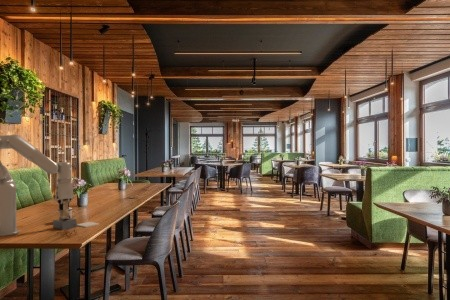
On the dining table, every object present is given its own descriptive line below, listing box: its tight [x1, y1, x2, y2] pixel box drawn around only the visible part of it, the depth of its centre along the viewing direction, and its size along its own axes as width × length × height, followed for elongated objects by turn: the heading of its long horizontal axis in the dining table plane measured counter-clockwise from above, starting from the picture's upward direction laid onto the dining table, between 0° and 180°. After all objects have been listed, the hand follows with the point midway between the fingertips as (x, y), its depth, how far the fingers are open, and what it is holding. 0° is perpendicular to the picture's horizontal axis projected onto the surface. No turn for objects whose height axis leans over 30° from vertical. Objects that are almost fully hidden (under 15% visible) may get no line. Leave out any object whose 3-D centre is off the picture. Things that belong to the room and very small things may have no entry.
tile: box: [77, 221, 100, 228], centre depth 237 cm, size 10×10×1 cm
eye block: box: [52, 218, 78, 231], centre depth 231 cm, size 10×10×5 cm
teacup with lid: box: [57, 206, 78, 219], centre depth 249 cm, size 12×9×12 cm
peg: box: [60, 199, 68, 219], centre depth 230 cm, size 5×5×12 cm
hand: (64, 209), depth 230 cm, fingers closed on peg, 3 cm apart
